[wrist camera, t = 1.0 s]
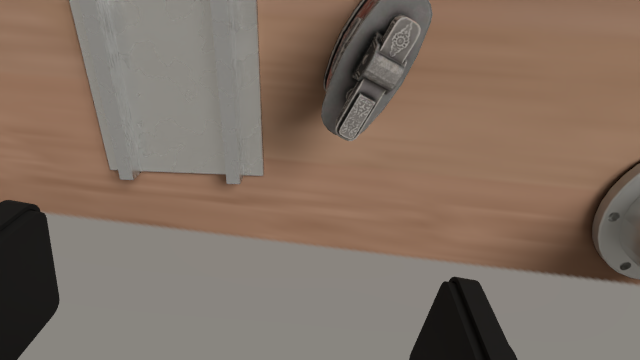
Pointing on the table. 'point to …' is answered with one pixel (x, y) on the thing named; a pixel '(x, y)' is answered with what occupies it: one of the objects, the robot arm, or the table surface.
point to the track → (175, 84)
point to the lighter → (371, 62)
